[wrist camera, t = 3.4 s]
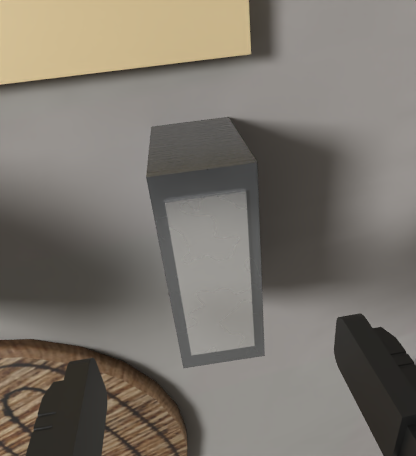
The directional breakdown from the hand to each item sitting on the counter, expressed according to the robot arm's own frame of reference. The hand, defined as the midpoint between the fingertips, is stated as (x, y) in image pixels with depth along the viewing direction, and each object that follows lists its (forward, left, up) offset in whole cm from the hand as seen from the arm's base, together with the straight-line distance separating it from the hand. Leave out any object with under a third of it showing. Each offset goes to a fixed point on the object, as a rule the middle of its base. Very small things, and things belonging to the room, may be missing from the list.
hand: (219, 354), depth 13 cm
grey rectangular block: (0, 0, -11) cm, 11 cm away
